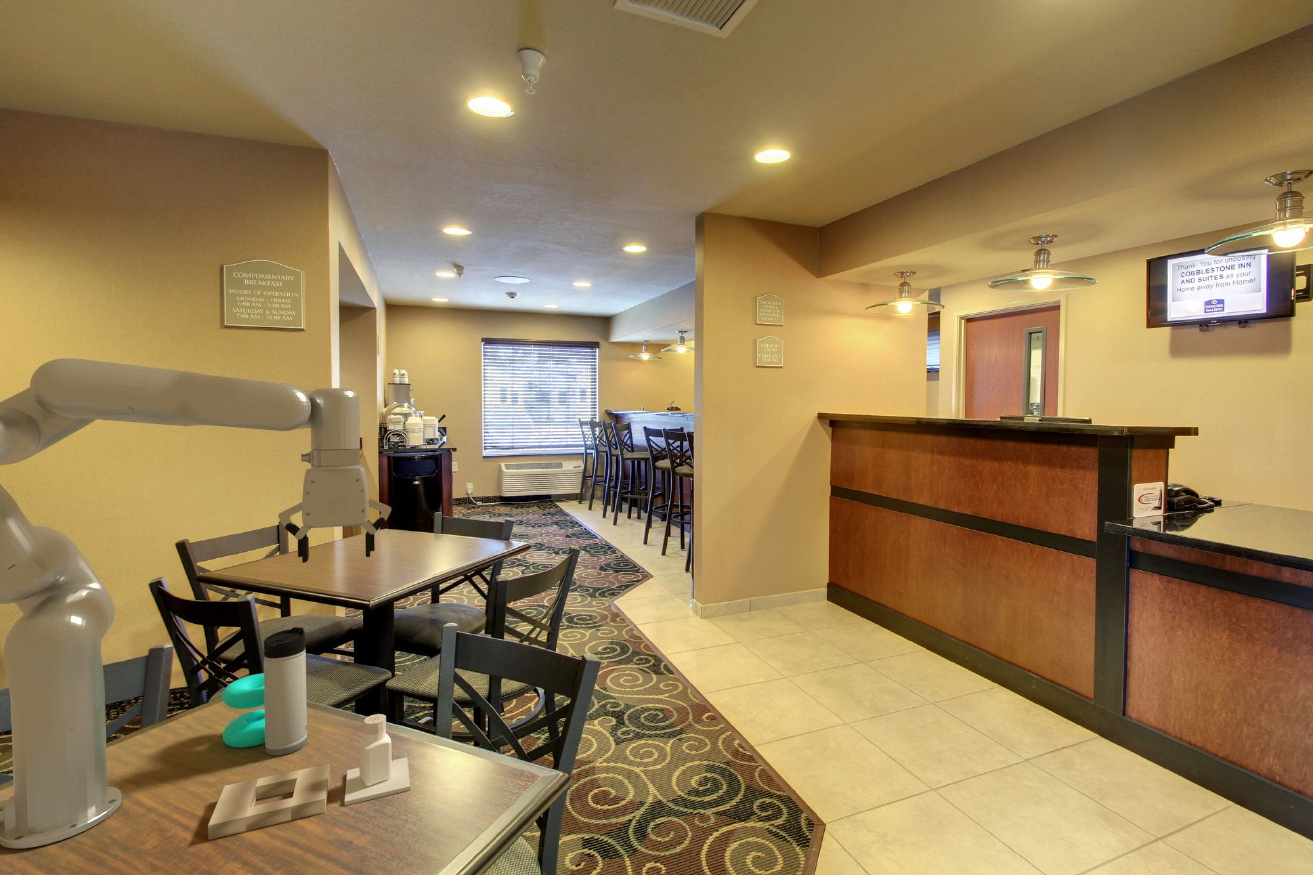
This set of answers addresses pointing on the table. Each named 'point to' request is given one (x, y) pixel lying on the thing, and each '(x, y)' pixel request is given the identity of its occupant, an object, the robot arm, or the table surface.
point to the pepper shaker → (375, 751)
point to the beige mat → (393, 785)
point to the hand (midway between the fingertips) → (337, 558)
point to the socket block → (240, 798)
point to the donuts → (251, 724)
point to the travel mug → (285, 691)
